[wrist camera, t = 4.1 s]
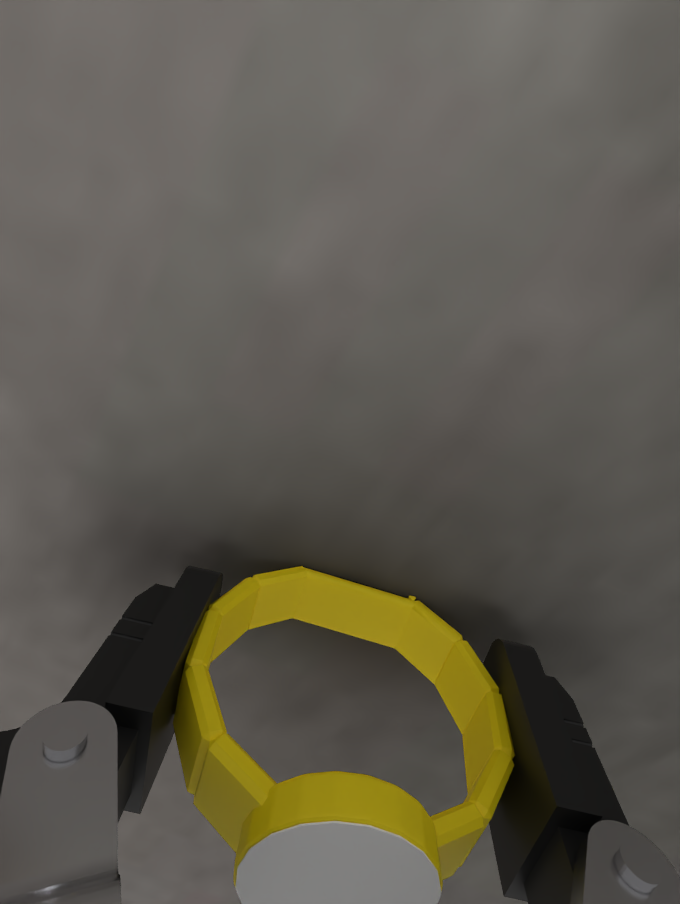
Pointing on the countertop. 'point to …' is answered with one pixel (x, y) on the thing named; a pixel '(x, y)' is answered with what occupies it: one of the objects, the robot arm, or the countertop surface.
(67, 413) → the countertop surface
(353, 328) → the countertop surface
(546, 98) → the countertop surface
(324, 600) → the yellow watch
